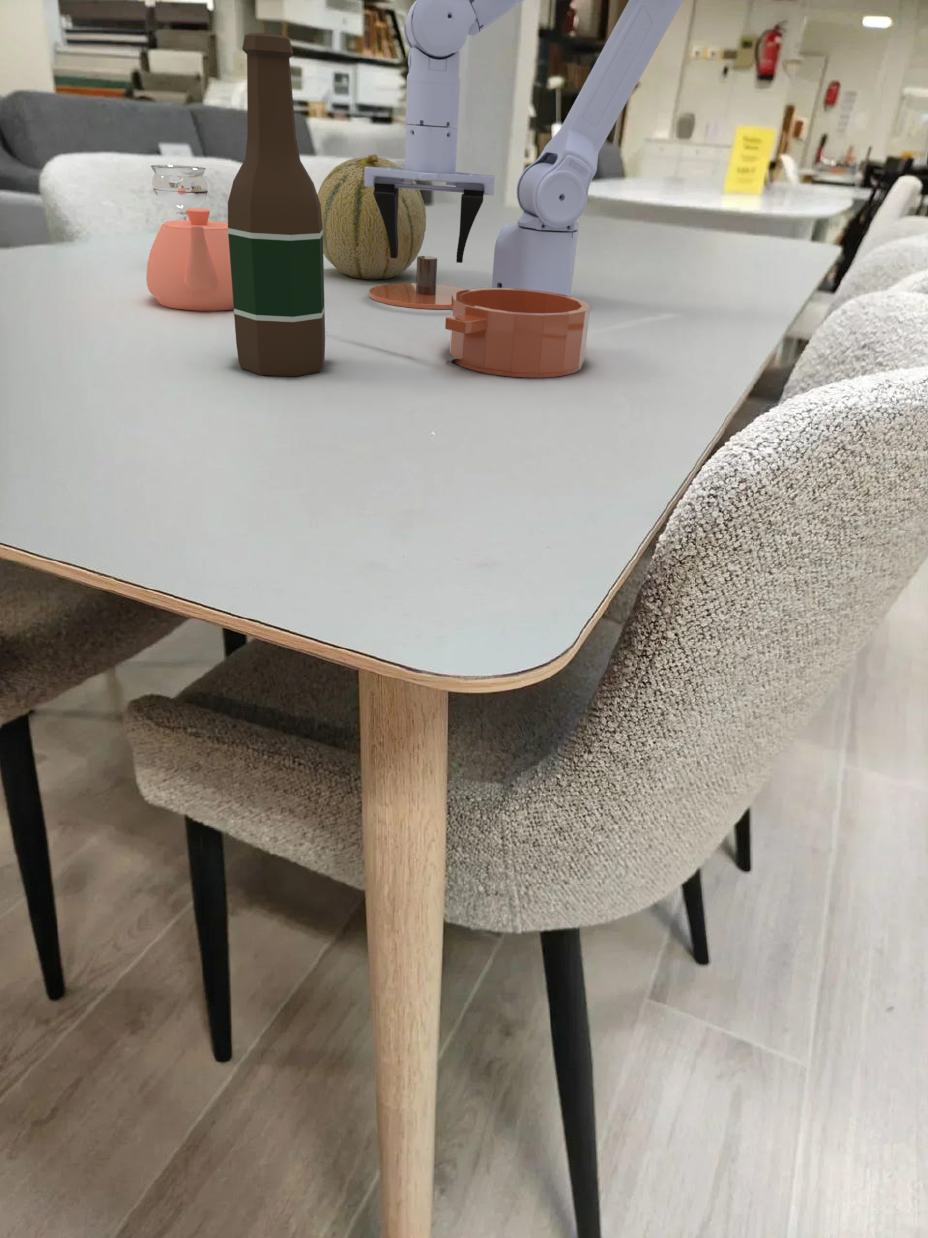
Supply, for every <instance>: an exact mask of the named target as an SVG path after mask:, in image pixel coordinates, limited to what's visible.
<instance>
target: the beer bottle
mask: <svg viewBox="0 0 928 1238" xmlns="http://www.w3.org/2000/svg"><path fill="white" fill-rule="evenodd" d="M241 48H242V49H241V50H242V51H243V52H244V53H245V55H246V103H247V105H246V106H247V107H246V108H247V111H246V112H247V113H246V114H247V115H246V117H247V119H246V120H247V123H246V124H247V125H246V126H247V137H246V146H245V147H246V148H245V157H244V160H243V162H242V163H241V166H240V167H239V169H238V171H237V172H236V175H235V177H234V178H233V181H232V184H231V188H230V193H229V195H228V196H229V197H228V200H227V223H228V237H229V250H230V264H231V278H232V292H233V306H234V309H233V317H234V329H235V331H234V332H235V343H236V351H237V352H236V353H237V360H238V364H239V366H240V368H241V369H244V370H246V371H249V372H251V373H254V374H257V375H259V376H274V377H299V376H304V375H310V374H314V373H320V372H321V371H322V368H323V365H324V362H325V359H326V358H325V355H326V321H325V320H326V317H325V316H326V315H325V314H326V313H325V311H326V310H325V309H326V307H325V271H324V270H325V266H324V265H325V264H324V261H325V260H324V253H323V226H322V214H321V204H320V201H319V198H318V195H317V194H318V191H317V189H316V186H315V184H314V183H315V182H314V181H313V180H312V178H311V176H310V175H309V173H308V171H307V170H306V167H305V166H304V164H303V163H302V160H301V157H300V152H299V151H300V150H299V145H298V140H297V131H296V120H295V109H294V95H293V85H292V84H293V83H292V74H291V62H290V58H292V57H293V55H294V50H293V47H292V43H291V39H289V38H288V37H286V36H284V35H283V34H276V33H268V32H267V33H265V32H249V33H247V34H245V35H244V37H243V42H242V47H241Z"/></svg>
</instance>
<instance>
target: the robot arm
mask: <svg viewBox="0 0 928 1238" xmlns="http://www.w3.org/2000/svg"><path fill="white" fill-rule="evenodd" d="M524 1H525V0H415V1H414V3H412V4H411V6H410V8H409V11H408V13H407V16H406V20H405V24H404V25H403V33H404V37H405V41H406V43H407V45H408V47H409V49H408V51H409V53H408V56H407V65H408V73H407V74H406V95H405V96H406V97H405V142H404V143H405V146H404V168H403V167H401V168H383V167H365V186H366V187H374V192H373V194H374V197H375V200H376V203H377V205H378V208H379V210H380V213H381V216H382V218H383V222H384V225H385V228H386V232H387V236H388V241H389V247H390V258H397V257H398V231H397V218H398V196H399V188H403V189H418V190H420V191H431V192H432V191H434V192H445V193H446V192H448V193H462V194H461V196H460V215H459V216H460V217H459V233H458V234H459V235H458V242H457V249H456V258H455V259H456V263H457V264H458V263H459V264H462V263H463V262H464V253H465V248H466V244H467V241H468V238H469V235H470V233H471V229H472V227H473V224H474V222H475V220H476V218H477V215H478V213H479V211H480V209H481V207H482V204H483V203H484V196H494V192H495V191H494V190H495V178H496V177H495V175H493V174H479V173H471V172H469V173H468V172H459V171H456V170H457V169H456V168H457V151H458V150H457V148H458V130H459V129H458V127H459V110H460V109H459V107H460V91H461V90H460V89H461V78H460V61H461V49H463V47H464V45H465V43H466V41H467V38H468V36H472V37H475V36H477V35H478V34H479V33H481V32H483V31H484V30H485V29H487V28H488V27H489V26H491V25H492V24H493V23H495V22H496V21H497V20H499V19H500V18H502V17H503V16H504V15H506V14H508V13H509V12H510V11H511V10H513V9H515V8H516V7H517V6H518V5H520V4H521V3H523V2H524ZM683 2H684V0H628V2H627V3H626V5H625V7H624V8H623V11H622V12H621V14H620V16H619V18H618V20H617V22H616V24H615V25H614V27H613V29H612V30H611V33H610V35H609V37H608V38H607V41H606V42H605V44H604V46H603V48H602V50H601V52H600V53H599V56H598V57H597V59H596V61H595V63H594V65H593V67H592V69H591V70H590V72H589V74H588V76H587V78H586V80H585V82H584V83H583V85H582V87H581V89H580V91H579V92H578V95H577V97H575V98H576V99H575V101H574V102H573V104H572V106H571V108H570V110H569V112H568V113H567V116H566V117H565V118H564V121H563V123H562V125H561V127H560V129H559V130H558V131H557V132H556V134H554V136H553V137H552V138H551V139H550V140H549V141H548V142H547V144H545V146H544V148H543V150H542V152H541V153H540V155H539V156H538V158H537V159H536V160H535V161H534V162H533V163H531V164H530V165H528V166H527V167H526V168H525V169H524V170H523V172H522V173H521V174H520V176H519V178H518V181H517V183H516V199H517V203H518V206H519V207H520V210H521V211H522V214H521V216H520V218H519V219H518V220H517V223H512V222H511V223H508V224H506V225H505V226H504V227H502V229H500V231H499V233H498V235H497V237H496V241H495V244H494V251H493V264H492V265H493V266H492V281H491V288H515V289H529V290H538V291H546V292H553V293H558V294H562V295H567V296H571V297H572V287H573V278H574V270H575V263H576V262H575V261H576V253H577V245H578V235H579V227H580V222H578V220H579V219H580V217H581V216H582V215H583V213H584V212H585V209H586V207H587V203H588V199H589V191H590V190H589V189H590V186H591V183H592V182H593V179H594V177H595V176H596V173H597V170H598V161H599V160H598V159H599V153H600V151H601V149H602V148H603V146H604V144H605V142H606V141H607V138H608V136H609V135H610V133H611V131H612V130H613V128H614V126H615V124H616V122H617V120H618V119H619V117H620V115H621V113H622V111H623V110H624V108H625V106H626V105H627V102H628V101H629V99H630V97H631V95H632V94H633V91H634V90H635V88H636V86H637V85H638V82H639V81H640V79H641V77H642V75H643V74H644V72H645V70H646V68H647V67H648V65H649V63H650V61H651V59H652V58H653V56H654V54H655V52H656V51H657V48H658V47H659V45H660V43H661V41H662V39H663V38H664V36H665V34H666V33H667V30H668V28H669V27H670V25H671V24H672V21H674V18H675V16H676V14H677V13H678V12H679V9H680V7H681V5H682V4H683ZM413 180H414V181H423V182H438V183H445V185H432V184H419V183H418V184H417V183H416V184H406V183H413ZM403 182H405V183H403Z"/></svg>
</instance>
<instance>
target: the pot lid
mask: <svg viewBox="0 0 928 1238" xmlns="http://www.w3.org/2000/svg"><path fill="white" fill-rule="evenodd" d="M437 280H438V257H436V256H429V255H419V256H418V255H417V257H416V281H415V282H406V283H405V282H404V283H403V282H402V283H401V282H400V283H399V282H398V283H387V284H381V285H376V286H374V287H371V288H370V289H369V290H368V296H369V297H370V299H372V300H374V301H376V302H378V303H382V304H387V305H390V306H396V307H402V308H411V309H420V310H421V309H424V310H451V303H452V295H453V294H455V293H457V292H459V291H463V290H469V288H464V287H460V286H454V285H445V284H437Z"/></svg>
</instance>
